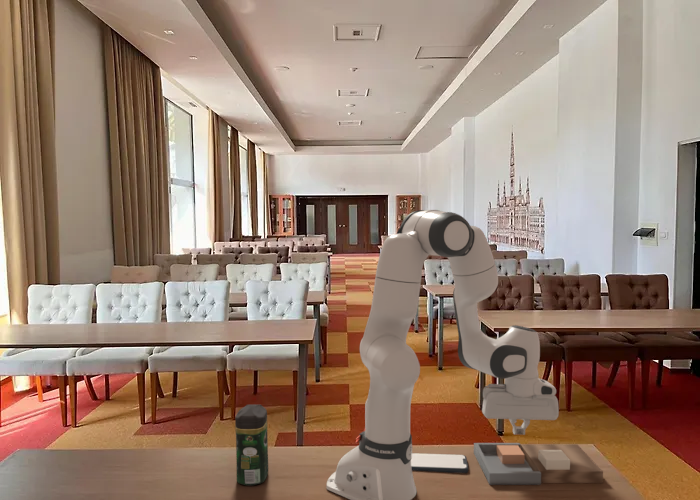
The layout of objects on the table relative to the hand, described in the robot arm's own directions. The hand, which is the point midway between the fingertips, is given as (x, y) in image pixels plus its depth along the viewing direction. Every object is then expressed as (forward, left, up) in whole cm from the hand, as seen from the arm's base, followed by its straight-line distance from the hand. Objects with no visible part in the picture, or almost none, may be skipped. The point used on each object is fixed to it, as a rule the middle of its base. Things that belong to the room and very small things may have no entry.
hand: (518, 433), depth 150 cm
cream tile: (+10, -4, -5) cm, 12 cm away
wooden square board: (+11, +1, -8) cm, 13 cm away
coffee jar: (-59, -42, -8) cm, 73 cm away
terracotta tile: (-2, -1, -7) cm, 7 cm away
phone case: (-19, -12, -8) cm, 24 cm away
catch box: (-2, -5, -8) cm, 10 cm away
